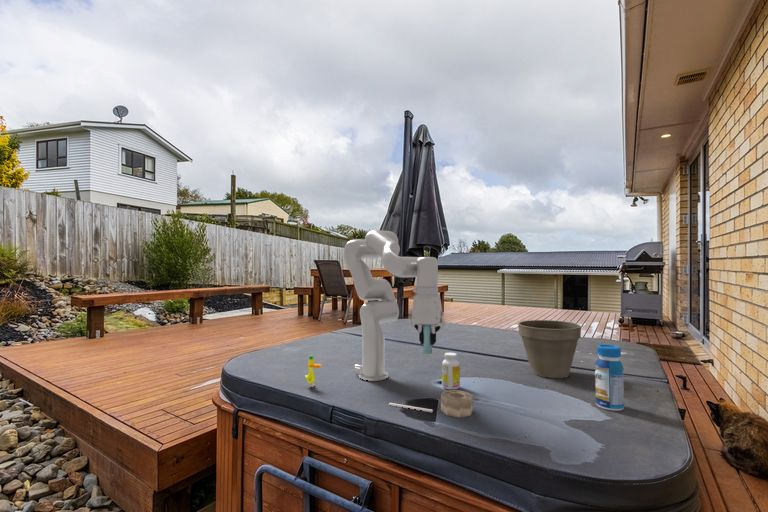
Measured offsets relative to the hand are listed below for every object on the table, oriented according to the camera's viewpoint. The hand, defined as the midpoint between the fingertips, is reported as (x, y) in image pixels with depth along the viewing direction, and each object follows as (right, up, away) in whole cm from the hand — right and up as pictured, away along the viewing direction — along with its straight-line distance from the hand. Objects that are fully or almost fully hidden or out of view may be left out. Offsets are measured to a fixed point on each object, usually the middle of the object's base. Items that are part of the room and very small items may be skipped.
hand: (427, 343), depth 130 cm
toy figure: (-43, -20, +12) cm, 49 cm away
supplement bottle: (+10, -20, +12) cm, 26 cm away
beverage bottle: (+60, -20, -7) cm, 63 cm away
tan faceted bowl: (+8, -19, -11) cm, 23 cm away
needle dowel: (0, -3, 0) cm, 3 cm away
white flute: (-7, -19, -9) cm, 22 cm away
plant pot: (+56, -21, +30) cm, 67 cm away
